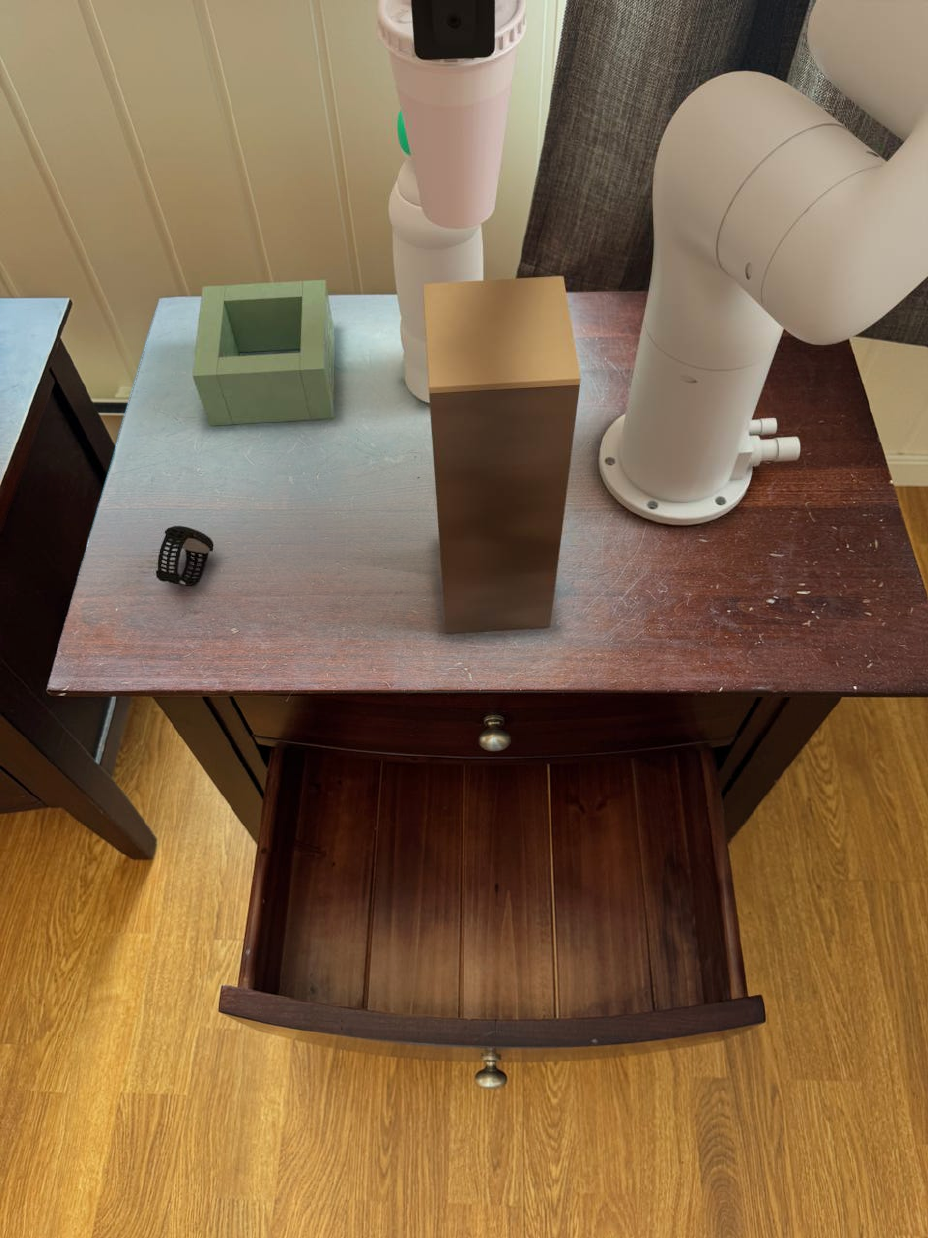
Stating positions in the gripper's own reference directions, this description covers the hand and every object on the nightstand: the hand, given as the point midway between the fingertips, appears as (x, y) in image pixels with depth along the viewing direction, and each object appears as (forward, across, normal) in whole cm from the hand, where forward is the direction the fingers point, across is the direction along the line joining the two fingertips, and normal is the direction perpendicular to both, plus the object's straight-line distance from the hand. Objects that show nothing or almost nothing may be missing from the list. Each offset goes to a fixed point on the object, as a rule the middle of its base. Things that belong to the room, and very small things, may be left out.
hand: (453, 3), depth 40 cm
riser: (+41, -3, -2) cm, 42 cm away
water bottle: (+42, +19, +2) cm, 46 cm away
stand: (+41, +20, +17) cm, 49 cm away
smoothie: (+10, 0, 0) cm, 10 cm away
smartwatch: (+41, -1, +22) cm, 47 cm away
